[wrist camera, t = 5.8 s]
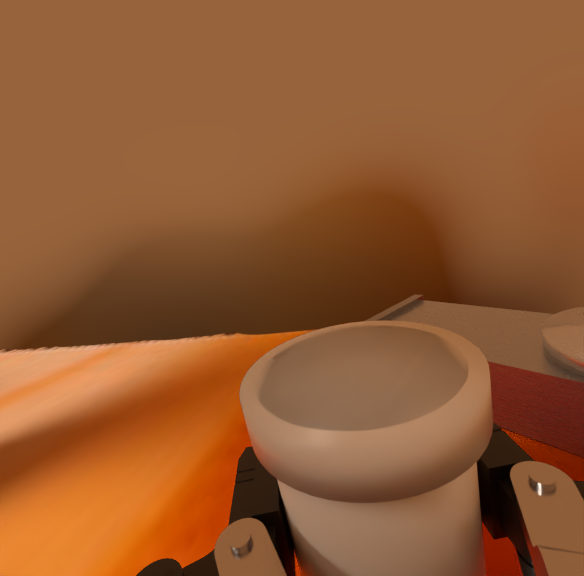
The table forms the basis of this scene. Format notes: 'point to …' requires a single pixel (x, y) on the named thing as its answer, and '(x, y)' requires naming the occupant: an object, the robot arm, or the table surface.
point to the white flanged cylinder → (375, 447)
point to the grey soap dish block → (520, 364)
